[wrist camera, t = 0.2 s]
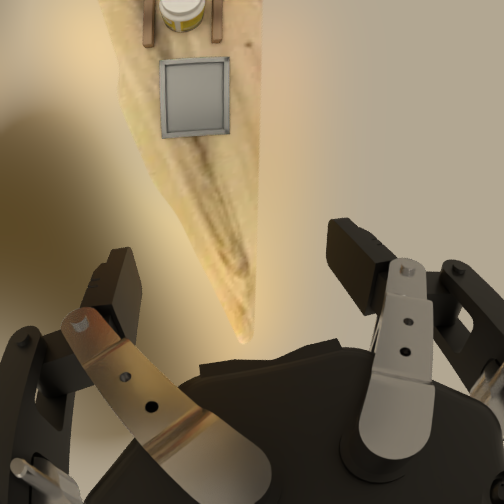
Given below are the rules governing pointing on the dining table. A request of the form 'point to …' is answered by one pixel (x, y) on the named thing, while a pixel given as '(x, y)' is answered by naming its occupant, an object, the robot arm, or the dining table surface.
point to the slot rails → (150, 15)
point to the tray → (194, 96)
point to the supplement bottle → (182, 14)
